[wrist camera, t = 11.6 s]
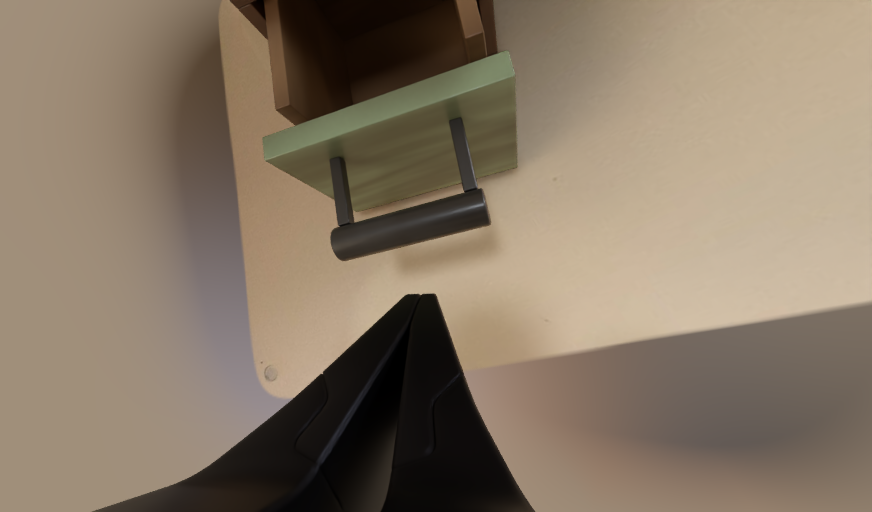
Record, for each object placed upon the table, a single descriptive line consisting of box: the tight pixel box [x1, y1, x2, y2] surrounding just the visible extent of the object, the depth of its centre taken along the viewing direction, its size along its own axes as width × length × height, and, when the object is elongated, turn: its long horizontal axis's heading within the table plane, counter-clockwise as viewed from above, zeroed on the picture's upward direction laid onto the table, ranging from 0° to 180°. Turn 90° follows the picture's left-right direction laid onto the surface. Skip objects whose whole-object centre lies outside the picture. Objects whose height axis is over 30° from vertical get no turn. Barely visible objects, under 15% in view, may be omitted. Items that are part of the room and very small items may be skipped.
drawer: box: [262, 0, 518, 261], centre depth 19 cm, size 18×11×9 cm, turn 11°
